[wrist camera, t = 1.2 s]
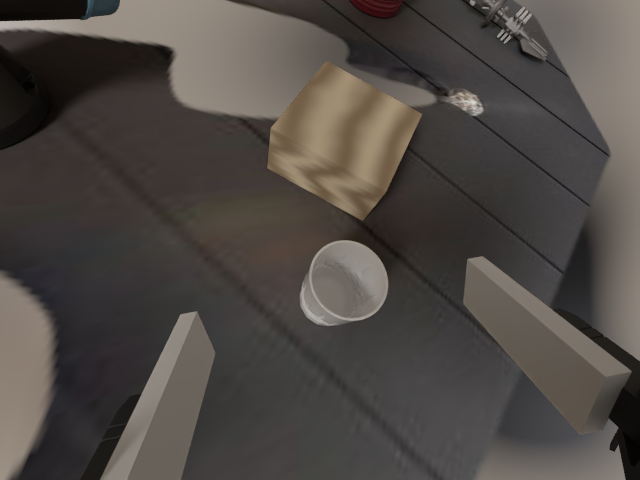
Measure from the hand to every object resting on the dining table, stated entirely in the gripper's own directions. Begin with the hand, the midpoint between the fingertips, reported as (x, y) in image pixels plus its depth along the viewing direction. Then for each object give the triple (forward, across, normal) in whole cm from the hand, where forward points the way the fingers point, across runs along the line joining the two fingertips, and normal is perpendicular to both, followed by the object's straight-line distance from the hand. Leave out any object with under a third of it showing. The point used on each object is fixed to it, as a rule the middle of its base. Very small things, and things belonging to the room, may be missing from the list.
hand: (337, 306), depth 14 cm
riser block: (+35, +6, 0) cm, 35 cm away
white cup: (+18, 0, -14) cm, 23 cm away
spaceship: (+73, +52, +19) cm, 92 cm away
